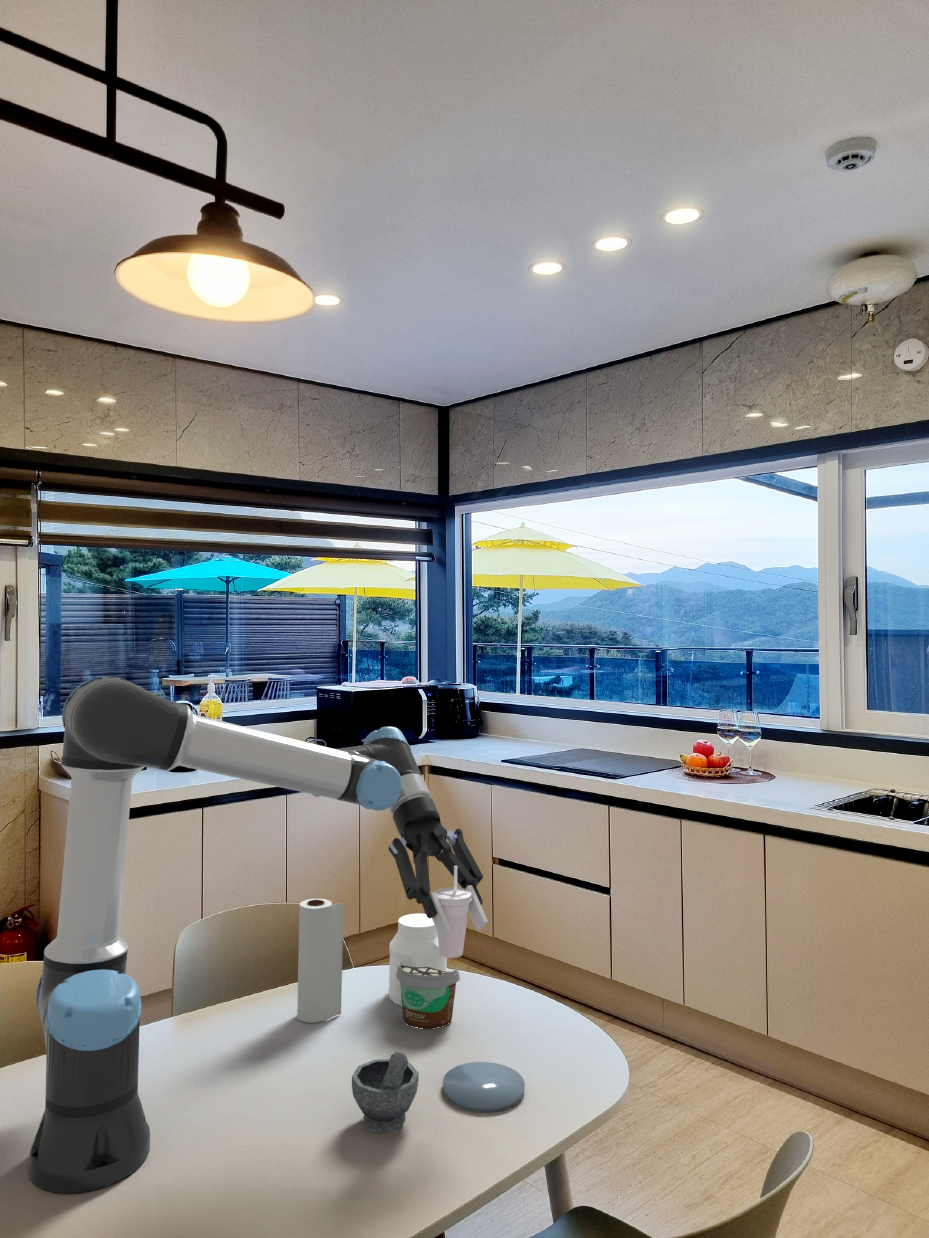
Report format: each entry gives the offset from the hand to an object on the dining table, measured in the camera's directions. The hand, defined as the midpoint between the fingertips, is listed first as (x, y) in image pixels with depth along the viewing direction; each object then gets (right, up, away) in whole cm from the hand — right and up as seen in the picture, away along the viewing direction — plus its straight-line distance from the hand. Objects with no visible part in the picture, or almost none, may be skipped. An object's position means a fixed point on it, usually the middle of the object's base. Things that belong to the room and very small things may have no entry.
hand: (464, 930), depth 137 cm
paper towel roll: (-28, -26, +26) cm, 46 cm away
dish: (+3, -26, +2) cm, 26 cm away
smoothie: (-2, -5, +3) cm, 6 cm away
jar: (-9, -26, +37) cm, 46 cm away
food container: (-8, -26, +24) cm, 37 cm away
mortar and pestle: (-12, -26, -8) cm, 29 cm away
